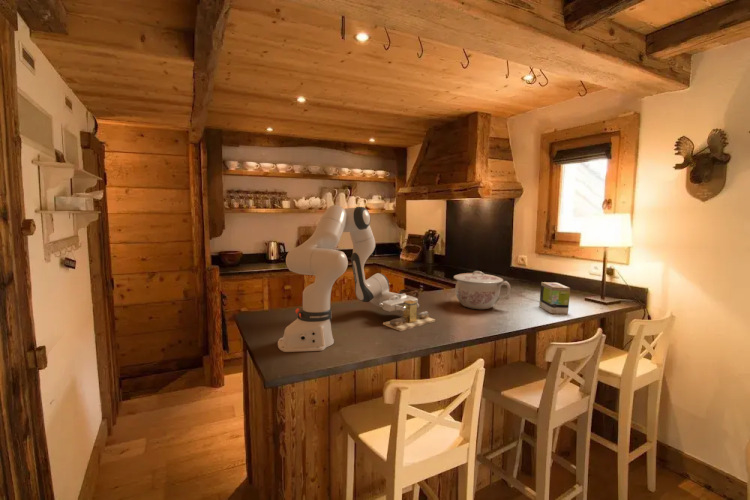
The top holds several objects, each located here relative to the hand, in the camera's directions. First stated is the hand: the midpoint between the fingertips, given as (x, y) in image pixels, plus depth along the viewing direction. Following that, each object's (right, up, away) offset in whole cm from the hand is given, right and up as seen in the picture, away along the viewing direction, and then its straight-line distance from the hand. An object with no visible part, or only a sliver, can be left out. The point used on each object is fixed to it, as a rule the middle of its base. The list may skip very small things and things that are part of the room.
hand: (411, 307), depth 179 cm
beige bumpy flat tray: (-1, -8, +2) cm, 8 cm away
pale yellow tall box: (-1, -7, +1) cm, 7 cm away
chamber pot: (+41, -5, +34) cm, 53 cm away
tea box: (+83, -6, +30) cm, 88 cm away
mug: (+2, -5, +31) cm, 31 cm away
